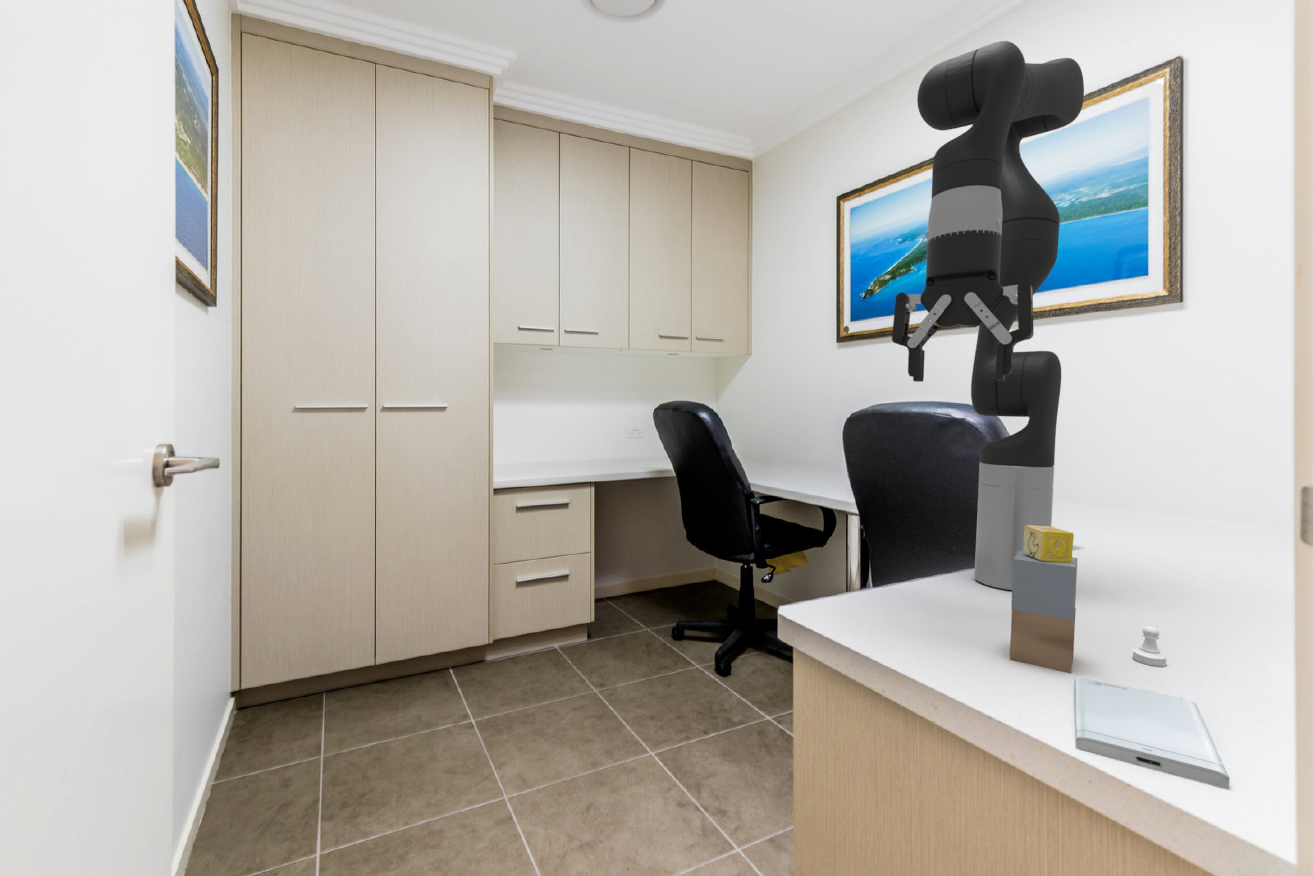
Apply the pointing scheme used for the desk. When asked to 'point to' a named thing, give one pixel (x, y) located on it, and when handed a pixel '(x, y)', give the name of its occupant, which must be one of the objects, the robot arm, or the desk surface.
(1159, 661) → the chess pawn
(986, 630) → the desk surface
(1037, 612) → the tower top
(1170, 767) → the hard drive
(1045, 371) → the robot arm
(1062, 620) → the block
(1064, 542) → the alphabet block
